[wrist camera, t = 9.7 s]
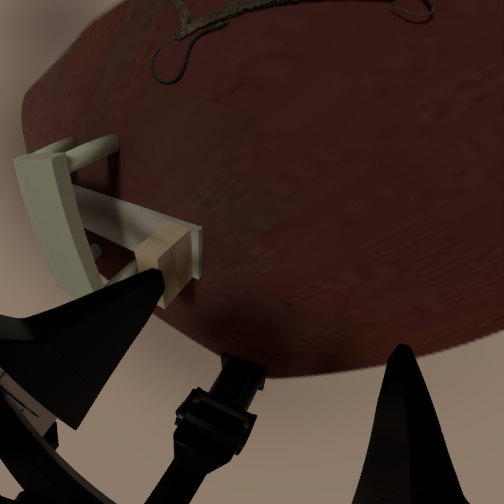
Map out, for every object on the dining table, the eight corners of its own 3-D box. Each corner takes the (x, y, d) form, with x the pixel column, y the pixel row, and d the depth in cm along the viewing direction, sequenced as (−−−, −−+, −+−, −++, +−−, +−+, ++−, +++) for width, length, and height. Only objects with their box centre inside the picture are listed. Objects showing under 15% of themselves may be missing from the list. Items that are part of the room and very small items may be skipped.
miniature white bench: (147, 275, 33) (105, 317, 27) (94, 253, 36) (57, 285, 30) (119, 131, 22) (51, 159, 16) (66, 135, 25) (13, 159, 19)
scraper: (203, 274, 29) (171, 312, 24) (82, 220, 34) (51, 242, 29) (204, 225, 25) (164, 262, 20) (74, 183, 30) (39, 203, 25)
